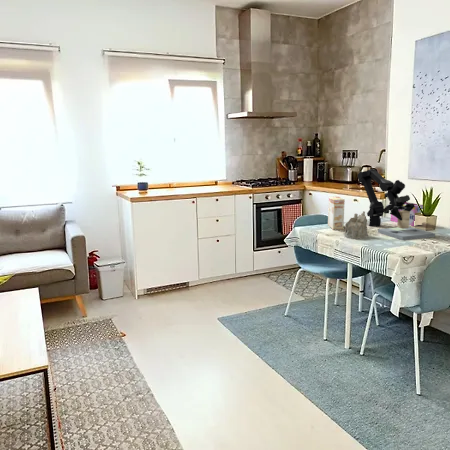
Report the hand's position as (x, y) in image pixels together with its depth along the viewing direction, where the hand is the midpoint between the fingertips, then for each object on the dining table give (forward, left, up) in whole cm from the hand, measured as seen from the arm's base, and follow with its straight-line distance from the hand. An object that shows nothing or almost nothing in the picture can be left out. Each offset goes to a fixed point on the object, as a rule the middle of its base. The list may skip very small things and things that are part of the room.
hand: (405, 219), depth 251 cm
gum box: (+1, +37, -9) cm, 38 cm away
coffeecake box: (-41, +7, -9) cm, 43 cm away
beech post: (-1, +1, -5) cm, 5 cm away
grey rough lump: (-28, -13, -9) cm, 32 cm away
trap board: (+1, -1, -9) cm, 9 cm away
